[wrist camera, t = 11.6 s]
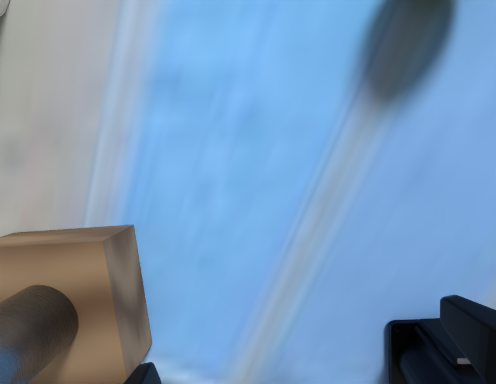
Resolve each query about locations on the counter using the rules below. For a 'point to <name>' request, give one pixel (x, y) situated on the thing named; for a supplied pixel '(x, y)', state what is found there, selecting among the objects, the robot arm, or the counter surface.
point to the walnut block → (85, 297)
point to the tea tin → (34, 331)
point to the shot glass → (3, 6)
